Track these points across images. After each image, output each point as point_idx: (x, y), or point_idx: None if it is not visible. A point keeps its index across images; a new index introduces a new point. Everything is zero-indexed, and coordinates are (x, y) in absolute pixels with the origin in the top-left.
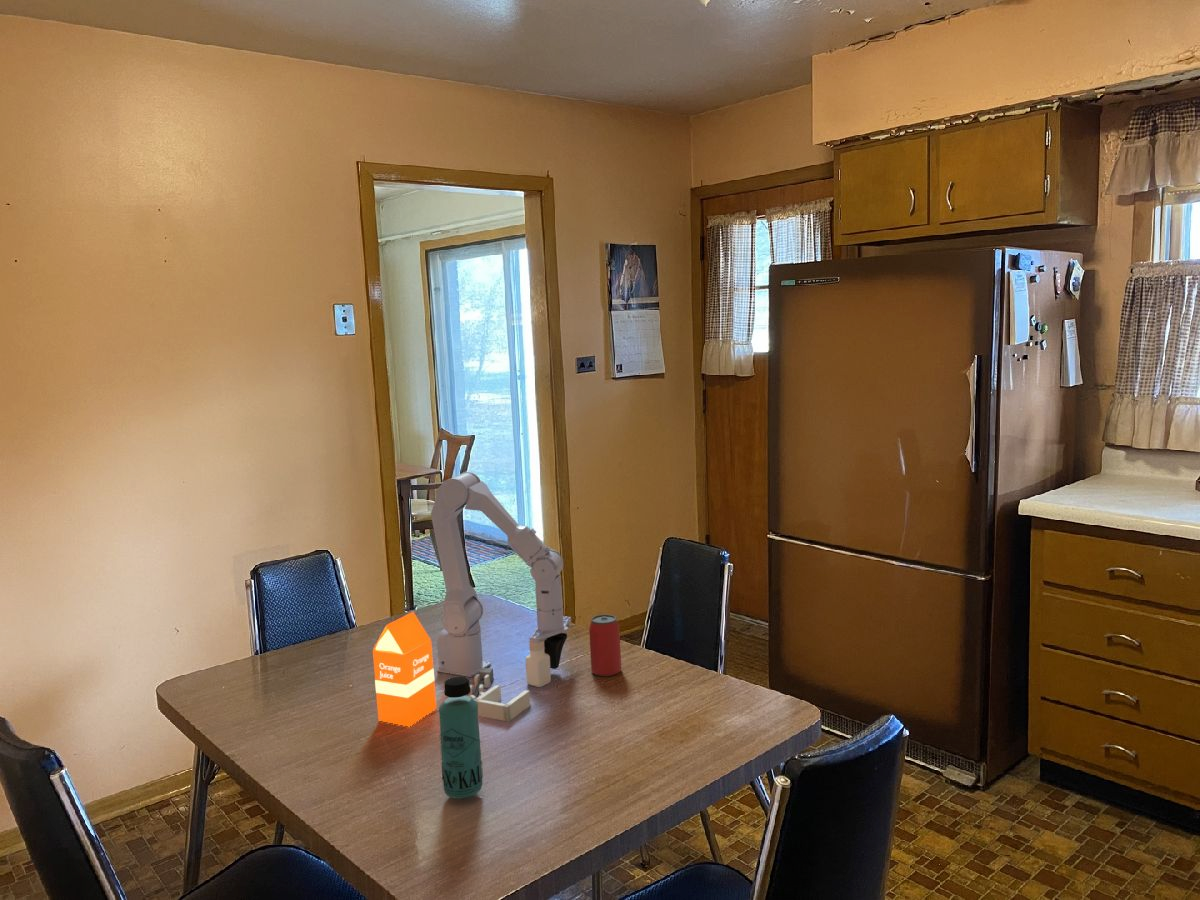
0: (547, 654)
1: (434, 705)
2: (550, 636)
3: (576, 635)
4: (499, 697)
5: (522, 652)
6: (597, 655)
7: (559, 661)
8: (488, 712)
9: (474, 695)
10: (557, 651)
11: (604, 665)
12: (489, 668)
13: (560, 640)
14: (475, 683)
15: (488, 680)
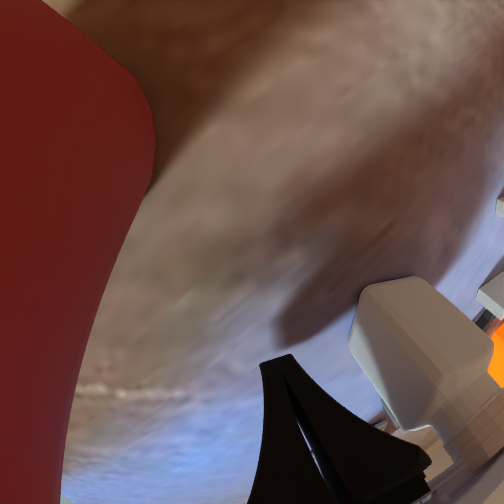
0: (443, 390)
1: (501, 334)
2: (477, 483)
3: None
4: (487, 291)
5: (198, 470)
6: (119, 126)
7: (266, 382)
8: None
9: (483, 331)
10: (333, 427)
11: (118, 65)
12: (396, 422)
13: (382, 488)
14: None
15: None
